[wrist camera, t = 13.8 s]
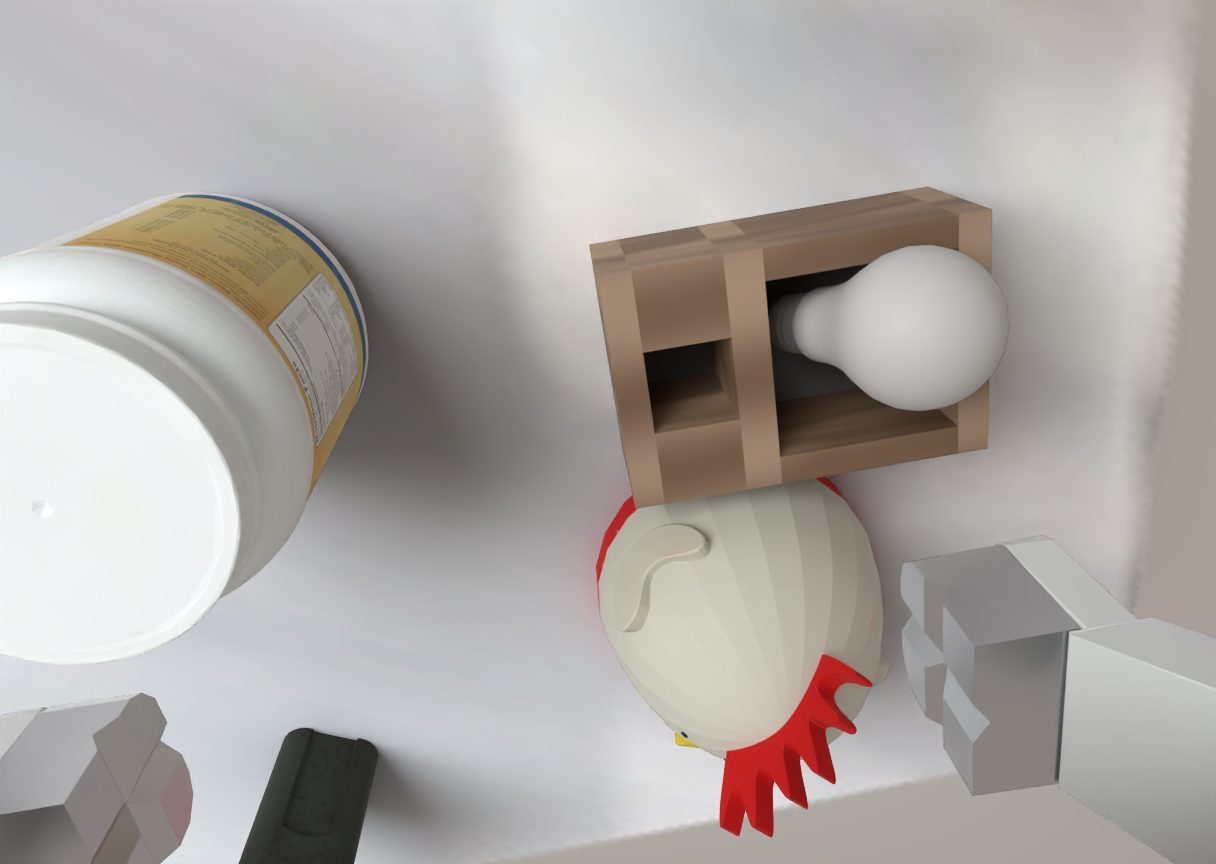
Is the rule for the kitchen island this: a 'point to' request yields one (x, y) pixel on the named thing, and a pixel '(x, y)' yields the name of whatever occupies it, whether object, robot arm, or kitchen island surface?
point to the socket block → (764, 348)
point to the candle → (313, 801)
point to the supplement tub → (162, 417)
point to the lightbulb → (902, 327)
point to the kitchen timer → (748, 630)
